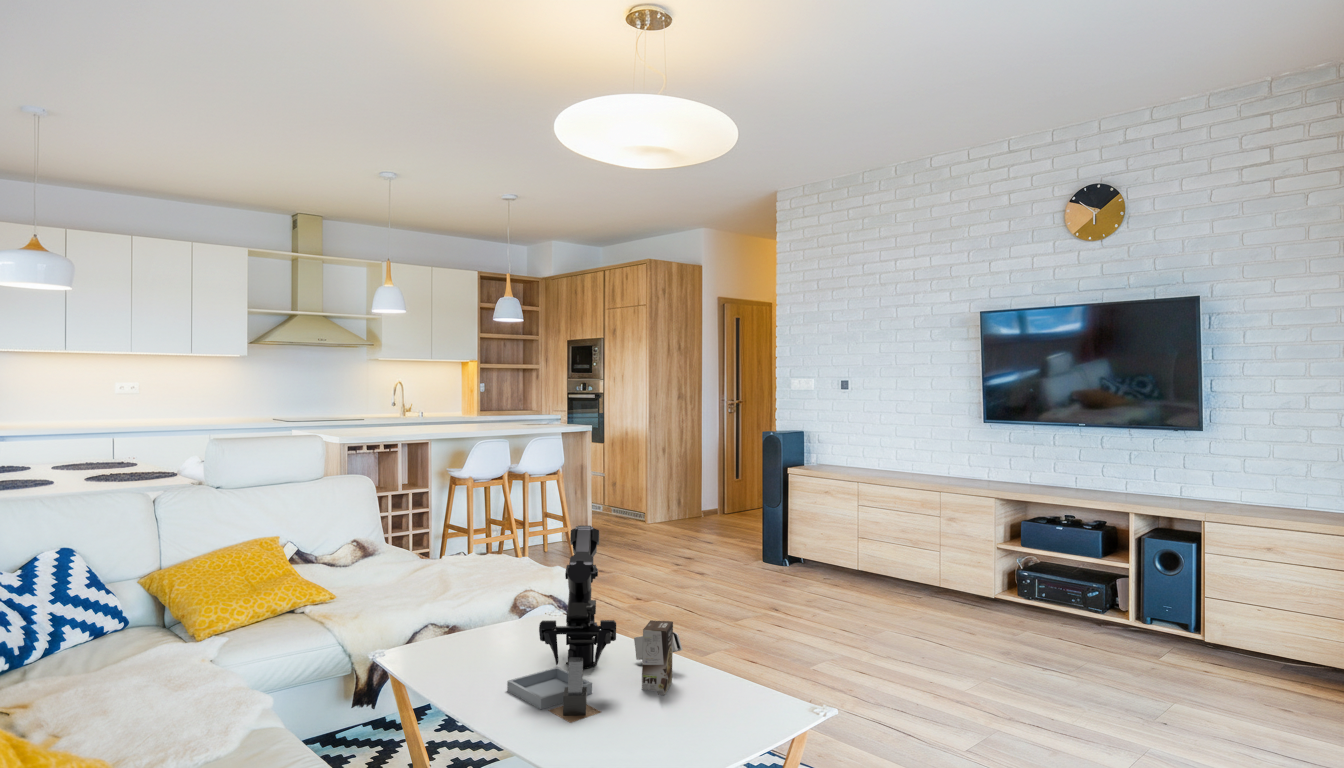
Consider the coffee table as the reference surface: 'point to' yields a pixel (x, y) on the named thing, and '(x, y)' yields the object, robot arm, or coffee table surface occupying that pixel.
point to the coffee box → (657, 656)
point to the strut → (575, 690)
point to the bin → (543, 687)
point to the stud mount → (559, 712)
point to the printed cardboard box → (639, 645)
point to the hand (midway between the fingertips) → (576, 663)
